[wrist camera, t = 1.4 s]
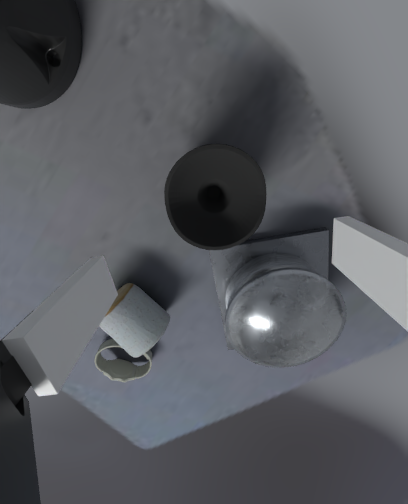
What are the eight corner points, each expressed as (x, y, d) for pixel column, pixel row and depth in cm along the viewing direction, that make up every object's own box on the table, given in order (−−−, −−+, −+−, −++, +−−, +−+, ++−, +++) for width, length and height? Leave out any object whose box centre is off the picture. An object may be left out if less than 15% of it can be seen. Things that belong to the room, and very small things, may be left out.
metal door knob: (208, 247, 34) (209, 270, 27) (324, 227, 32) (355, 246, 26) (227, 344, 40) (231, 382, 34) (324, 331, 39) (348, 368, 32)
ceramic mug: (135, 271, 35) (116, 301, 28) (174, 305, 37) (165, 341, 30) (92, 309, 38) (65, 345, 31) (130, 339, 40) (113, 379, 33)
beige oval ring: (98, 354, 42) (85, 379, 37) (106, 327, 39) (92, 350, 35) (149, 368, 43) (142, 394, 38) (158, 343, 41) (152, 367, 36)
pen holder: (265, 178, 30) (290, 188, 21) (220, 235, 33) (225, 267, 24) (204, 130, 28) (202, 118, 19) (162, 196, 31) (143, 213, 22)
